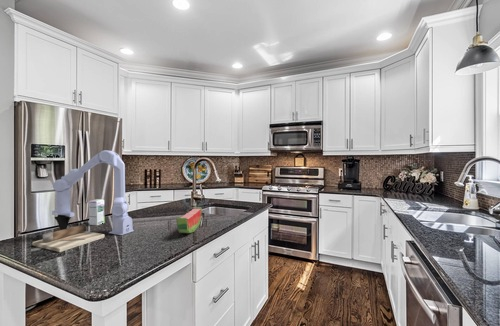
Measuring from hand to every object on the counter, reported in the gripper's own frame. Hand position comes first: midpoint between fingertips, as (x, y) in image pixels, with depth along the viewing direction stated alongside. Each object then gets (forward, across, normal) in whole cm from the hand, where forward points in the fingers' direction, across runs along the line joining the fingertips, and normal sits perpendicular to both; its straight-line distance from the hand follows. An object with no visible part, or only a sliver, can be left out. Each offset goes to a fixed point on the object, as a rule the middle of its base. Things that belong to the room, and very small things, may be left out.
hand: (63, 229), depth 120 cm
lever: (+1, +6, -3) cm, 7 cm away
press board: (+3, +10, -3) cm, 11 cm away
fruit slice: (+4, +53, +33) cm, 63 cm away
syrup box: (+4, -7, +22) cm, 23 cm away
